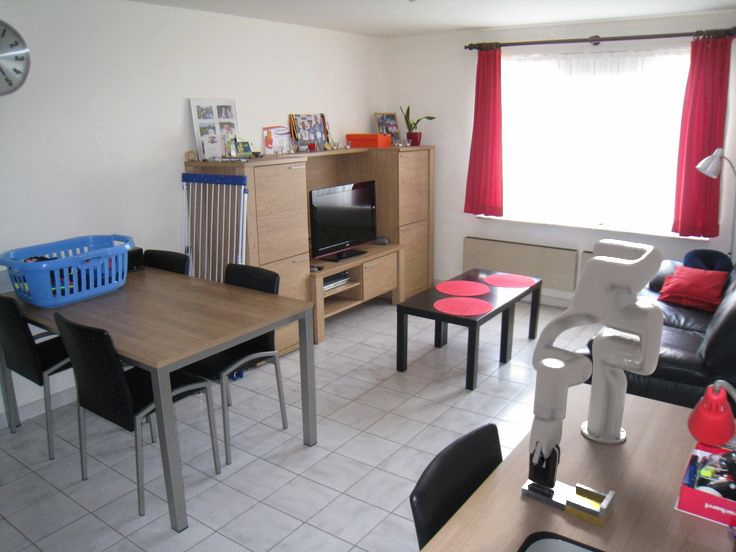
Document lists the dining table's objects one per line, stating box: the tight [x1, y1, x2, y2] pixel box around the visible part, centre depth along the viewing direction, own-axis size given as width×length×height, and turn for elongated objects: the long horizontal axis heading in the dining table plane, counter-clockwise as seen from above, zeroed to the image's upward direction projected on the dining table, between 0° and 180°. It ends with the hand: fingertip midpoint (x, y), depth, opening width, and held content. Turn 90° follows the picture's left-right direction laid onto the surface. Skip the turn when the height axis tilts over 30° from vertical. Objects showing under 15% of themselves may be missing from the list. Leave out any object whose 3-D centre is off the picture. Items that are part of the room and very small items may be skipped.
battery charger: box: [527, 444, 561, 489], centre depth 150 cm, size 7×4×11 cm, turn 51°
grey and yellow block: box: [521, 479, 616, 528], centre depth 147 cm, size 8×20×5 cm, turn 52°
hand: (543, 474), depth 151 cm, fingers closed on battery charger, 3 cm apart
